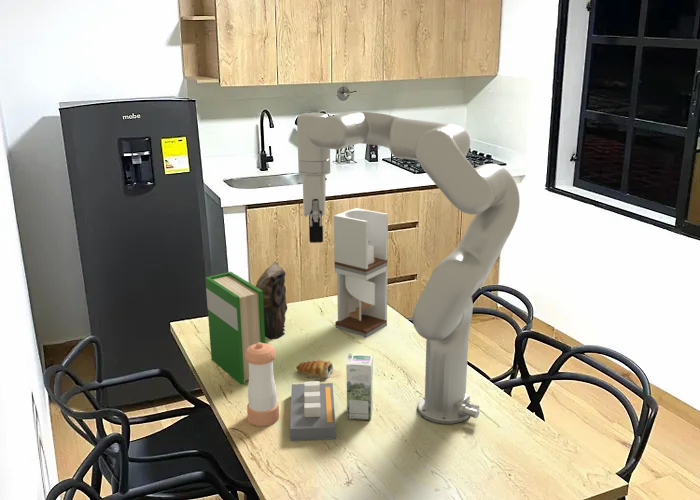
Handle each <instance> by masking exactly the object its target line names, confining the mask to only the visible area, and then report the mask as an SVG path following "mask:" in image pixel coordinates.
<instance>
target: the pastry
mask: <svg viewBox="0 0 700 500" xmlns="http://www.w3.org/2000/svg"><path fill="white" fill-rule="evenodd" d="M295 368H296V372H297V373H298V374H299V375H301V376H304V377H306V378H308V379H315V380H319V381H320V380H321V381H322V380H323V381H324V380H325V381H326V380H328V379H329V378H330V376H331V374H332V372H333V371H334V367H333V363H332V362H331V361H330V360H329V361H326V360H321V359H316V360H307V361H303V362H300V363H299V364H298V365H297V366H296V367H295Z"/></svg>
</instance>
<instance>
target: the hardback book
mask: <svg viewBox="0 0 700 500" xmlns="http://www.w3.org/2000/svg"><path fill="white" fill-rule="evenodd" d="M205 291H206V293H205V294H206V304H207V319H208V328H209V329H208V331H209V343H210V345H209V346H210V360H211V361H212V362H213V363H215V364H216V365H217V366H218V367H219V368H220V369H222V370H223V371H224V372H225V373H226V374H228V376H229V377H231V378H232V379H234V381H235V382H237V383H238V384H239V385H240V386H244V385H246V384H245V381H247V380H248V381H249V362H248V361H247V360H246V358H245V351H246V350H247V348H248V347H249V346H251V345H253V344H257V343H259V342H261V343H265V344H266V337H265V327H264V306H263V291H262V290H260V289H259V288H257V287H256V285H253V284H252V283H251V282H249V281H247V280H245V279H244V278H242V277H241V276H239V275H237V274H235V273H234V272H233V271H228V272H224V273H220V274H213V275H209V276H205Z"/></svg>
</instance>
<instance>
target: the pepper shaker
mask: <svg viewBox="0 0 700 500" xmlns="http://www.w3.org/2000/svg"><path fill="white" fill-rule="evenodd" d="M276 355H277V351H276V349H275V348H274V346H272V345H271V344H269V343H266V342H265V343H261V342H259V343H257V344H253V345H251V346H249V347H248V348H247V350H246V351H245V358H246V360H247V361H248V362H249V379H248V385H247V398H248V399H247V401H248V403H247V405H246V407H247V408H246V410H247V421H248V423H249V424H251V425H253V426H257V427H267V426H271V425H274V424H275V423H277V422H278V421H279V418H280V408H279V407H280V405H279V401H278V392H277V391H278V390H277V386H276V381H275V376H274V363H273V361H274V360H275V358H276Z"/></svg>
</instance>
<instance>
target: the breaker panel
mask: <svg viewBox="0 0 700 500" xmlns="http://www.w3.org/2000/svg"><path fill="white" fill-rule="evenodd" d="M290 391H291V393H290V394H291V395H290V399H291V400H290V423H289V425H290V426H289V435H290V437H289V439H290V442H295V441H320V440H337V433H336V432H337V428H336V412H335V401H334V385H333V382H324V383H321V382H320V406H321V417H305V411H304V403H305V399H304V392H305V388H304V383H298V384H296V383H295V384H293V383H292V384H291V390H290Z"/></svg>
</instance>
